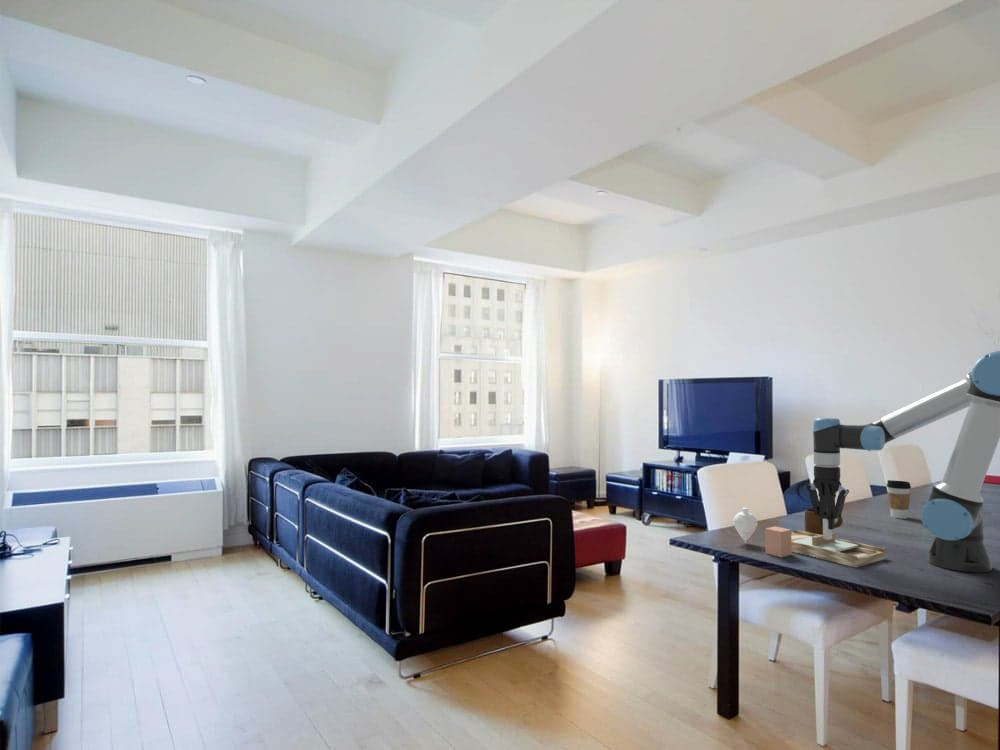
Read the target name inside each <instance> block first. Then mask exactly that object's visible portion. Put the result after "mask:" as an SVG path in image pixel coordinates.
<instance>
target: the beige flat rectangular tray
mask: <svg viewBox="0 0 1000 750" xmlns="http://www.w3.org/2000/svg"><path fill="white" fill-rule="evenodd" d="M813 536H819V534H814V533H809V532H805V530H804V531H803V530H799V529H792V532H791V542H792V553H796V554H799V553H800V555H803V554H804V555H803V556H807V555H809V556H808V557H811V556H812V558H815V557H816V559H819V558H820V560H823V561H826V562H827V561H828V562H832V563H835V562H836V563H837V564H839V565H840V564H841V565H844V566H847V567H852V568H860V567H863V566H867V565H870V564H873V563H877V562H880V561H883V560H886V557H887V556H886V555H887V554H886V548H883V547H879V546H875V545H869V544H865V543H861V542H856V541H853V540H852V541H851V540H846V539H841V538H837V537H835V540H838V541H843V542H847V543H852V544H857V545H858V547H856V548H852V549H848V550H844V551H840V552H836V551H832V550H828V549H823V548H819V547H815V546H810V545H806V544H802V543H797V542H793V541H795V540H799V539H804V538H808V537H813Z"/></svg>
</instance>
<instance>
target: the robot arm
mask: <svg viewBox="0 0 1000 750" xmlns="http://www.w3.org/2000/svg"><path fill="white" fill-rule="evenodd" d="M966 408H967V412H966V415H965V417H964V419H963V423H962V425H961V428H960V431H959V434H958V436H957V440H956V442H955V444H954V447H953V450H952V453H951V456H950V458H949V461H948V463H947V467H946V470H945V473H944V474H943V478H942V480H941V481H940V482H939V481H938V482H937V483H934V484H933V487H932V489H931V492H930V495H929V497H928V500H927V502H925V504H924V505H923V507H922V508H921V512H920V518H921V522H922V524H923V526H924V528H925V529H926V530H927V531H928V532H929V533H930V534H932V535H933V536H934V538H933V539H932V542H931V546H930V548H929V551H928V553H927V561H928V562H929V563H930V564H931V565H934V566H937V567H941V568H942V569H948V570H952V571H959V572H968V573H988V572H989V573H990V572H991V571H992V570H993V563H992V560H991V557H990V554H989V552H988V550H987V547H986V545H985V542H984V541H985V540H984V509H983V504H984V502H985V501H984V497H983V493H982V492H981V490H982V489H981V488H982V486H983V484H984V481H985V478H986V475H987V473H988V470H989V468H990V465H991V462H992V460H993V457H994V454H995V452H996V449H997V446H998V443H999V442H1000V351H994V352H988V353H987V354H985V355H983V356H981V357H980V358H979V359H978V360H977V361H976V362H975V363H974V364H973V366H972V369H971V371H970V372H968V373H967V374H966V375H965V378H964V379H962V380H959V381H957V382H955V383H953V384H951V385H949V386H947V387H945V388H943V389H940V390H939V391H937V392H935V393H931V394H930V395H928V396H925V397H924V398H921V399H919V400H916V401H915V402H913V403H911V404H909V405H907V406H904V407H902V408H900V409H898V410H896V411H894V412H892V413H889V414H887V415H885V416H883V417H880V418H879V419H877V420H873V421H872V422H870V423H867V424H862V425H861V424H860V425H857V424H856V425H853V424H852V425H851V424H849V425H848V424H847V425H846V424H841V420H840V419H839V418H834V417H833V418H832V417H816V418H814V421H813V431H812V433H813V434H812V435H813V439H812V440H813V464H814V466H813V477H814V478H813V481H812V483H810V484H806V486H805V488H806V489H807V491H808V493H809V497H810V501H811V506H812V509H813V510H814V514H815V515H818V516H819V517H820V526H821V528H823V539H826V540H829V539H832V533H833V530H835V529H836V528H835V523H836V522H835V520H836V519H837V518H840V517H842V513H843V511H844V506H845V502H846V497H847V495H849V493H850V490H849V489H846V488H844V486H842V482H841V481H840V479H841V467H840V465H841V449H849V450H861V451H862V450H863V451H869V452H871V451H878V452H879V451H882V450H883V449H884V446H885V444H887V443H889V442H891V441H894V440H896V439H898V438H900V437H902V436H905V435H907V434H910V433H912V432H914V431H916V430H918V429H920V428H923V427H925V426H928V425H930V424H932V423H934V422H936V421H939V420H941V419H944V418H946V417H948V416H950V415H953V414H955V413H957V412H960V411H962V410H964V409H966ZM837 493H838V495H837ZM836 497H837V498H836ZM826 517H827V518H826Z"/></svg>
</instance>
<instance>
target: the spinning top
mask: <svg viewBox="0 0 1000 750" xmlns="http://www.w3.org/2000/svg"><path fill="white" fill-rule="evenodd" d="M732 523H733V526H734V528H735V530H736V531H737V533H738V534H739V537H741V539H742V540H743V541H744V543H745V544H747V541H748V540H749V539H750V537H751V536H752V535H753V534H754V532H755V530H756V529H757V527H758V520H757V518H756V516H754V514H752V513H751V512H749V508H748V507H742V508H741V511H740V512H738V513H736V514H735V516H734V517H733V522H732Z"/></svg>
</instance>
